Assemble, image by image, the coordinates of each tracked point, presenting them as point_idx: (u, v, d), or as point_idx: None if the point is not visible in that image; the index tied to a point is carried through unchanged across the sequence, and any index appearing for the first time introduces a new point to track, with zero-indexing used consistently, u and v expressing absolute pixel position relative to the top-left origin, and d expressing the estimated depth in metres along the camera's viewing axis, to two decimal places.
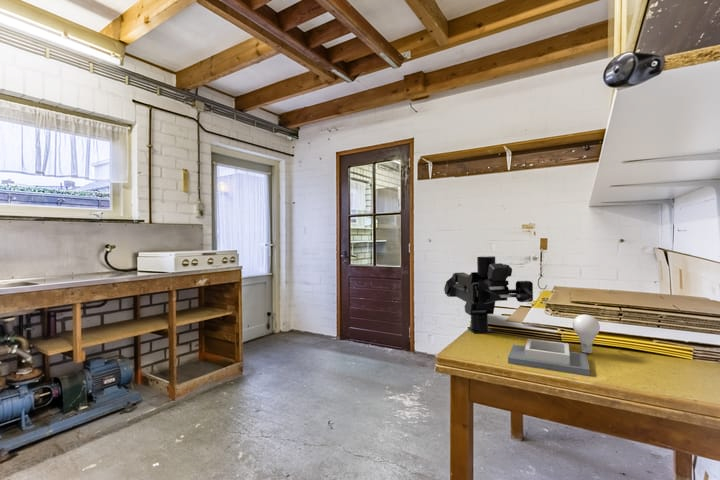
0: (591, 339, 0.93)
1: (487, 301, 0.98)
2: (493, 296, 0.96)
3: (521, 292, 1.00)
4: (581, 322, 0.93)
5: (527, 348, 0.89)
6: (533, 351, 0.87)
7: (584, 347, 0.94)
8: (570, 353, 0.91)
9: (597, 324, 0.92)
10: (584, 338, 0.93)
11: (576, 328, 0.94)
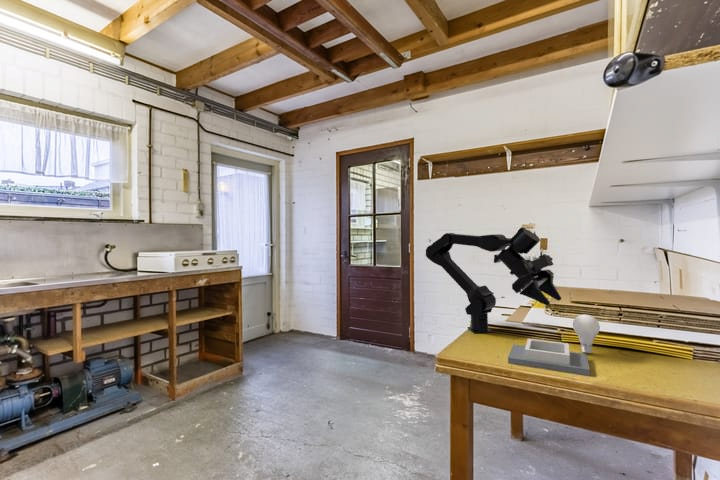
0: (591, 339, 0.93)
1: (530, 296, 1.00)
2: (542, 298, 0.98)
3: (545, 284, 1.07)
4: (581, 322, 0.93)
5: (527, 348, 0.89)
6: (533, 351, 0.87)
7: (584, 347, 0.94)
8: (570, 353, 0.91)
9: (597, 324, 0.92)
10: (584, 338, 0.93)
11: (576, 328, 0.94)
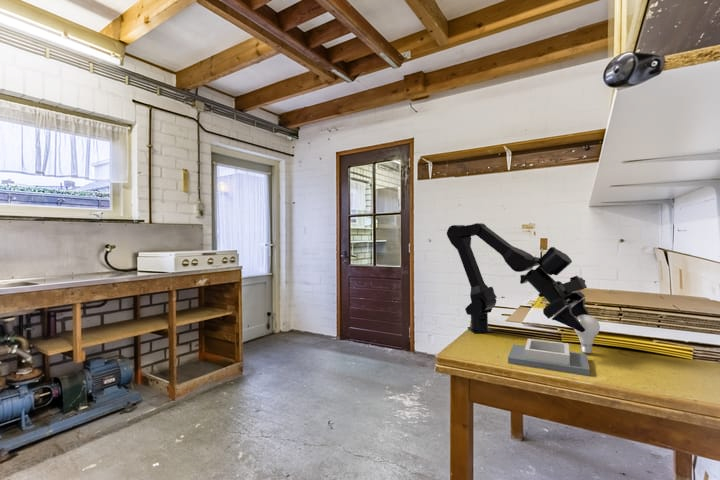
0: (591, 339, 0.93)
1: (563, 322, 0.93)
2: (576, 325, 0.92)
3: (576, 307, 1.01)
4: (581, 322, 0.93)
5: (527, 348, 0.89)
6: (533, 351, 0.87)
7: (584, 347, 0.94)
8: (570, 353, 0.91)
9: (597, 324, 0.92)
10: (584, 338, 0.93)
11: None
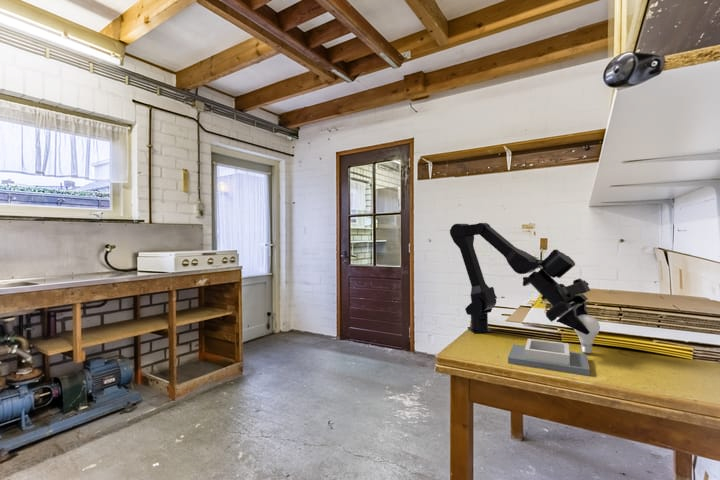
0: (591, 339, 0.93)
1: (567, 324, 0.94)
2: (581, 327, 0.92)
3: (578, 311, 0.99)
4: None
5: (527, 348, 0.89)
6: (533, 351, 0.87)
7: (584, 347, 0.94)
8: (570, 353, 0.91)
9: (597, 324, 0.92)
10: (584, 338, 0.93)
11: None
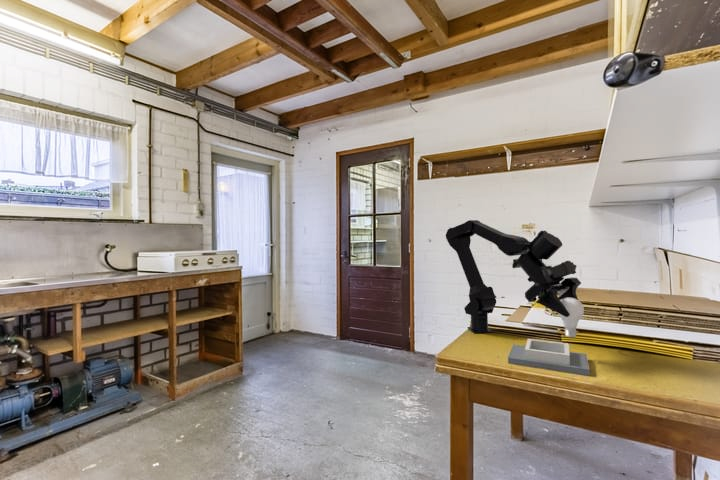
0: (573, 322, 0.90)
1: (548, 306, 0.92)
2: (560, 309, 0.90)
3: (566, 294, 0.96)
4: None
5: (527, 348, 0.89)
6: (533, 351, 0.87)
7: (567, 331, 0.91)
8: (570, 353, 0.91)
9: (579, 307, 0.89)
10: (566, 321, 0.91)
11: None
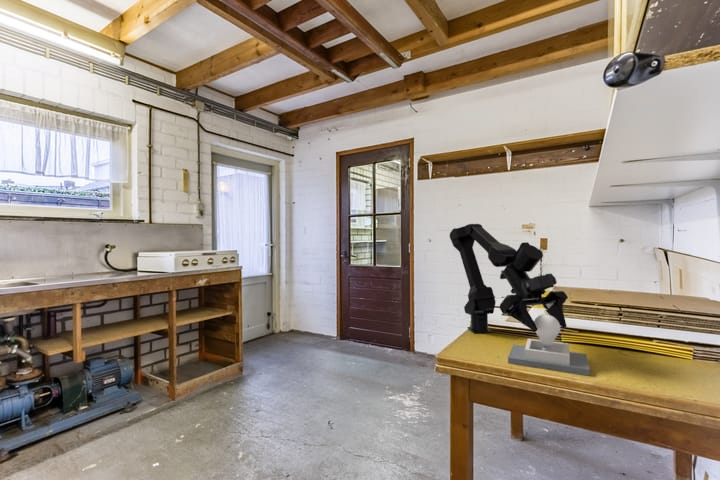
0: (548, 340, 0.88)
1: (518, 319, 0.91)
2: (529, 323, 0.89)
3: (553, 307, 0.94)
4: (536, 321, 0.90)
5: (527, 348, 0.89)
6: (533, 351, 0.87)
7: (543, 348, 0.90)
8: (570, 353, 0.91)
9: (553, 325, 0.87)
10: (541, 338, 0.89)
11: None
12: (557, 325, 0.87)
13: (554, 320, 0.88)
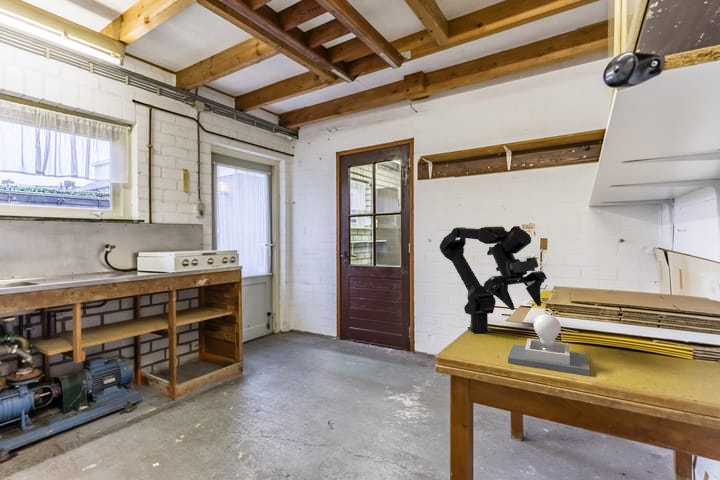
0: (548, 340, 0.88)
1: (499, 298, 1.01)
2: (508, 302, 0.98)
3: (532, 286, 1.03)
4: (537, 321, 0.90)
5: (527, 348, 0.89)
6: (533, 351, 0.87)
7: (543, 348, 0.90)
8: (570, 353, 0.91)
9: (553, 325, 0.87)
10: (541, 338, 0.89)
11: (534, 327, 0.91)
12: (557, 325, 0.87)
13: (554, 320, 0.88)
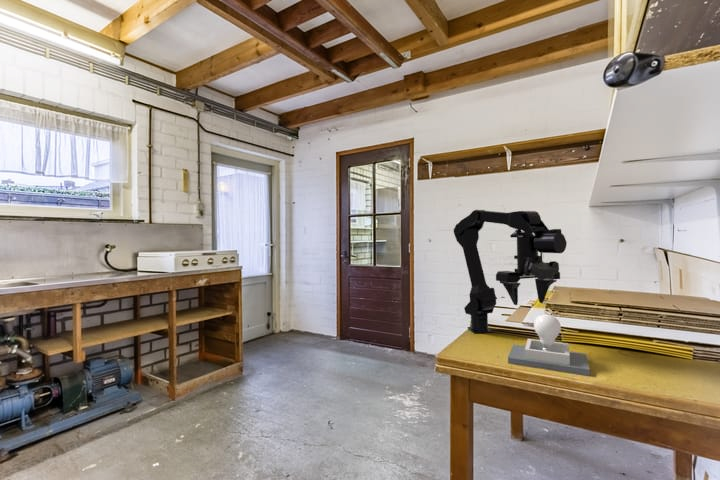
0: (548, 340, 0.88)
1: (506, 289, 1.02)
2: (513, 297, 1.00)
3: (541, 282, 1.03)
4: (537, 321, 0.90)
5: (527, 348, 0.89)
6: (533, 351, 0.87)
7: (543, 348, 0.90)
8: (570, 353, 0.91)
9: (553, 325, 0.87)
10: (541, 338, 0.90)
11: (534, 327, 0.91)
12: (558, 325, 0.87)
13: (555, 320, 0.88)
